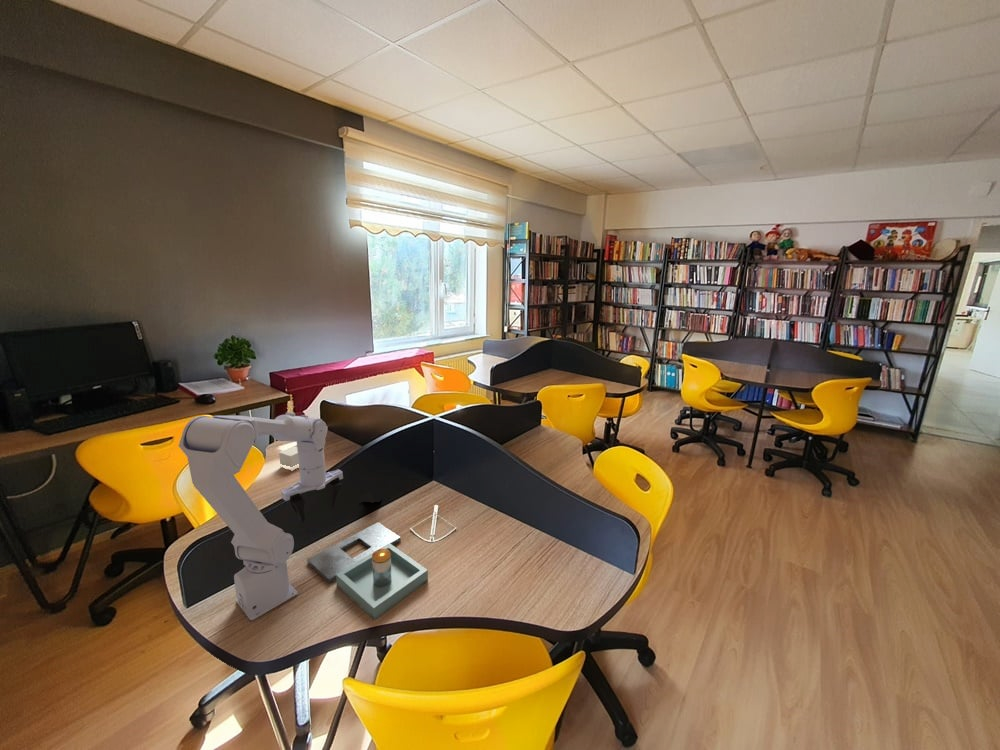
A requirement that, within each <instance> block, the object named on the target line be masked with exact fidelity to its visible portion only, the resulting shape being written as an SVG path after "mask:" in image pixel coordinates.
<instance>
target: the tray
mask: <svg viewBox="0 0 1000 750" xmlns="http://www.w3.org/2000/svg"><path fill="white" fill-rule="evenodd" d="M380 549H388V550H389V551H390V553H391V579H392V580H391V582H390V584H389V585H387V586H385V587H376V586H375V585H374V583H373V565H372V554H373V553H374V552H373V553H372V554H370V555H368V556H366V557H365V558H363V559H361V560H360V561H358V562H356V563H354V564H353V565H351V566H349V567H348V568H346V569H344V570H342V571H341V572H339V573H337V574H336V580H335V581H336V586H337V588H339V589H340V590H341V592H343V593H344V594H345V595H346V596H347V597H349V598H350V600H352V601H353V602H354V603H355V604H356V605H357V606H358V607H359V608H361V610H363V612H365V613H366V614H367V615H369V617H371V618H372V620H373V621H375V620H377V619H378V618H380V617H382V615H384V614H385V613H386V612H388V611H389V610H390V609H392V608H393V607H394V606H396V605H397V604H399V603H400V602H401V601H403V600H404V599H405V598H407V597H408V596H410V595H411V594H412V593H413V592H416V590H418V589H419V588H420V587H422V586H423V585H425V584H426V583H427V582H428V581H429V575H428V574H429V569H427V568H426V567H424V566H423V565H422V564H420V563H418V562H417V561H416V560H415V559H413V558H411V557H410V556H408V554H406V553H404V552H402V551H401V550H400V549H399V548H397V547H396V546H395V545H391V544H390V543H389V544H387V545H385V546H384V547H382V548H380ZM378 550H379V549H378Z"/></svg>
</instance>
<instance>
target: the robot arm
mask: <svg viewBox="0 0 1000 750" xmlns="http://www.w3.org/2000/svg"><path fill="white" fill-rule="evenodd" d="M327 433H328V426H327V424H326V422H325V421H324V420H323V419H322V418H318V417H309V415H308V414H300V415H296V413H295V412H285V414H281V415H278V416H276V417H275V418H274V419H270V418H263V417H255V416H249V415H248V416H246V415H212V416H211V417H208V416H205V415H198V416H196V417H193V418H191V420H189V421H188V422H187V423H186V425H185V427H183V430H182V434H181V437H180V440H179V444H178V447H179V449H180V450H181V451H182V452H183V453H184V454H185V456H186V458H187V462H188V466H189V472H190V477H191V483H192V484H193V487H194V488H195V489H196V490H197V492H199V494H200V495H201V496H202V498H204V500H205V501H206V502H207V503H208V504H209V506H210V507H211V508H212V509H213V511H215V513H216V514H217V515H218V516H219V517H220V518H221V520H223V522H224V523H225V525H226V526H227V527H228V528H229V529H230V531H232V533H233V534H234V535H233V537H232V539H231V541H230V543H231V544H232V545H233V548H234V554H235V557H236V558H237V559H238V560H242V562H243V566H244V567H243V568H242V569H241V570H239V571H238V572H236V573H235V574H234V575H233V580H234V581H233V582H234V588H235V593H236V594H235V595H236V599H235V600H236V601H235V602H236V603H237V605H238V606H239V607H240V608H241V610H242V612H244V614H245V615H246V617H247V618H248V619H249V620H250V621H254V620H255V619H257V618H260V617H261V616H262V615H264V614H265V613H267V612H268V613H269V611H271V610H273V609H275V608H276V607H278V606H280V605H281V604H283V603H286V601H288V600H290V599H292V598H293V597H295V596H297V595H298V593H299V592H298V590H296V588H295V587H294V586H293V585H292V584H291V583H290V580H289V579H290V578H289V571H288V563H287V561H288V560H289V558H290V557H291V555H292V553H293V551H294V548H295V547H294V546H295V541H294V540H295V539H294V537H293V535H292V534H291V533H289V532H284V530H283V529H282V528H280V527H278V526H277V525H274V524H273V523H270V522H268V521H267V519H266V518H265V516H264V515H263V514H262V512H261V510H259V508H258V506H256V503H254V501H253V500H252V498H251V497H250V495H248V493H247V492H246V490H245V489H244V487H243V486H242V485H241V483H240V482H239V481H238V479H237V478H236V477H235V475H236V474H238V473H239V472H240V471H241V470H242V467H243V466H244V463H245V461H246V460H247V457H248V456H249V453H250V452H251V449H252V447H253V445H254V444H256V443H257V442H258V438H259V436H271V437H272V438H273V439H274V440H276V441H279V442H296V447H297V451H298V461H299V469H298V470H299V481H297V482H295V483H294V484H292V485H290V486H289V487H287V488H285V489H282V490H280V491H281V492H280V493H281V498H282V500H284V501H285V502H288V503H289V504H290V506H291V507H292V509H293V511H294V512H295V516H296V518H297V521H299V522H300V523H304V522H305V509H304V508H305V502H306V501H305V499H303V498H302V496H301V494H303V493H306V492H310V491H315V490H316V491H319V490H322V489H324V491H325V497H326V498H325V500H326V507H328V508H329V509H330V510H333V509H335V504H336V500H337V496H338V494H339V491H340V489H341V488H342V487H343V485H342V481H340V480H342V479H344V475H343V474H344V473H343V471H342V470H341V469H336V470H333V471H328V472H326V463H325V449H324V447H325V446H326V437H327Z"/></svg>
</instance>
